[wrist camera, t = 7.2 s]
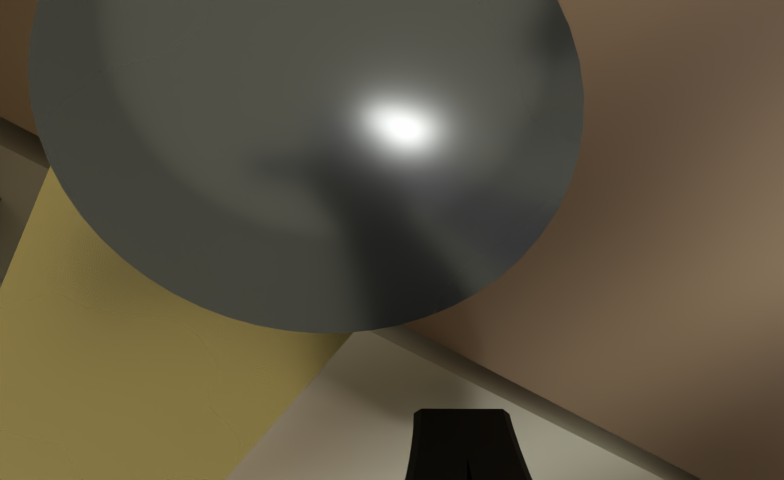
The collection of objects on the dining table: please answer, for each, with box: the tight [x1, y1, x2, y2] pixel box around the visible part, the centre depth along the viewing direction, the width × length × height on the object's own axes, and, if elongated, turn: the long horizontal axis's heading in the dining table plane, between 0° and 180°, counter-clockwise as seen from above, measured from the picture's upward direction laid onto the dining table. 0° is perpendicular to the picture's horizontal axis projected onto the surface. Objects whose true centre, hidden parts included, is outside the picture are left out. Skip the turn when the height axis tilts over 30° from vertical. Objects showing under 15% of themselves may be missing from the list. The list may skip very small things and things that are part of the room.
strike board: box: [0, 0, 784, 480], centre depth 10 cm, size 18×15×4 cm
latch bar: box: [0, 0, 584, 480], centre depth 8 cm, size 12×4×3 cm, turn 147°
